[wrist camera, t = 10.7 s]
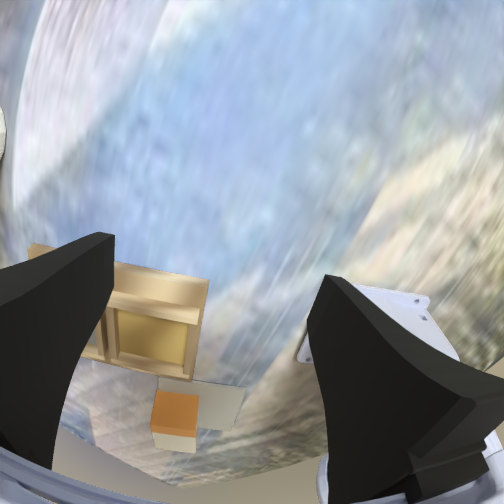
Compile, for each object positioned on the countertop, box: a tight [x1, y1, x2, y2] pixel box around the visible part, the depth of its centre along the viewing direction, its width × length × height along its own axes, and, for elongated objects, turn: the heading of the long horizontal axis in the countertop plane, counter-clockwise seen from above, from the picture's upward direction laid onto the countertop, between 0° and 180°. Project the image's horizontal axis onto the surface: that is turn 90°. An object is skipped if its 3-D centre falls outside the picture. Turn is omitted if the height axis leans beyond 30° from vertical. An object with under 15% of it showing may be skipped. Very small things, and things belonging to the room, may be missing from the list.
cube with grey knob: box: [150, 391, 199, 453], centre depth 26 cm, size 4×4×5 cm
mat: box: [158, 376, 246, 431], centre depth 28 cm, size 8×8×1 cm
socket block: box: [27, 243, 209, 382], centre depth 21 cm, size 14×10×2 cm
